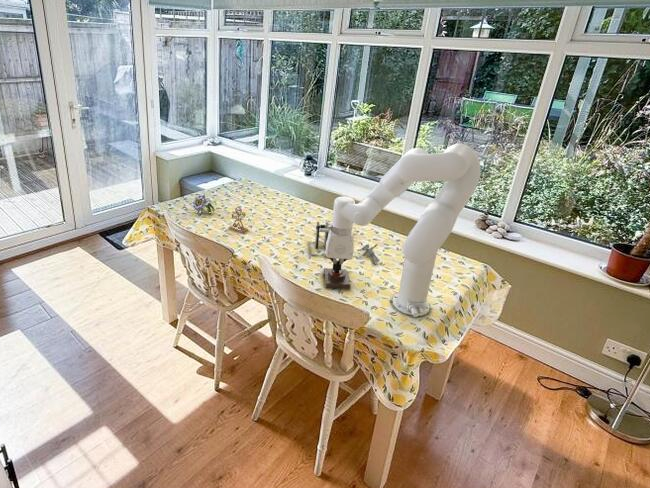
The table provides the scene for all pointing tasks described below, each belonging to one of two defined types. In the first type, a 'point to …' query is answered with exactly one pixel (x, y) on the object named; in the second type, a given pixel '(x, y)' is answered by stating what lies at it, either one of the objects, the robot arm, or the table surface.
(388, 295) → the table surface
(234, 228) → the brown openwork figurine
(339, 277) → the button block
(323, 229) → the lever
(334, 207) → the robot arm
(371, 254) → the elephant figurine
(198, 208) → the passion flower
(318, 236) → the black rod frame
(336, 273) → the button
